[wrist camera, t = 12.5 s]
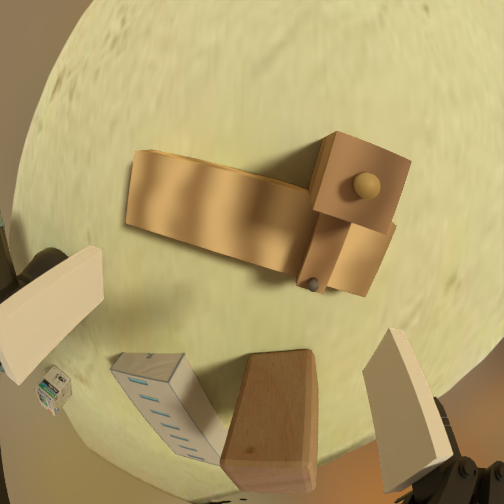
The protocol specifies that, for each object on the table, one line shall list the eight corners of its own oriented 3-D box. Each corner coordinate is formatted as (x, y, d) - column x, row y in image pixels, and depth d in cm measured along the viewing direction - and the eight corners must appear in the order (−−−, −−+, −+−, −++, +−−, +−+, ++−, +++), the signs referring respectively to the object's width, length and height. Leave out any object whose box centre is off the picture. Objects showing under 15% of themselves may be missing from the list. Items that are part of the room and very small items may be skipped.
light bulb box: (53, 364, 57) (32, 386, 47) (71, 378, 57) (50, 402, 47) (56, 382, 61) (38, 403, 51) (73, 394, 61) (55, 417, 51)
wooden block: (248, 351, 40) (214, 465, 22) (313, 345, 38) (311, 468, 20) (261, 392, 44) (238, 492, 25) (318, 388, 41) (315, 494, 23)
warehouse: (123, 350, 47) (104, 375, 40) (185, 351, 43) (168, 382, 36) (182, 437, 56) (173, 459, 49) (235, 442, 53) (228, 467, 46)
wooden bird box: (285, 257, 34) (276, 318, 22) (322, 138, 28) (339, 129, 16) (331, 271, 34) (343, 337, 21) (371, 155, 28) (417, 162, 16)
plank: (141, 215, 35) (125, 223, 31) (151, 149, 32) (135, 150, 28) (359, 281, 33) (365, 297, 30) (386, 216, 30) (396, 225, 26)
